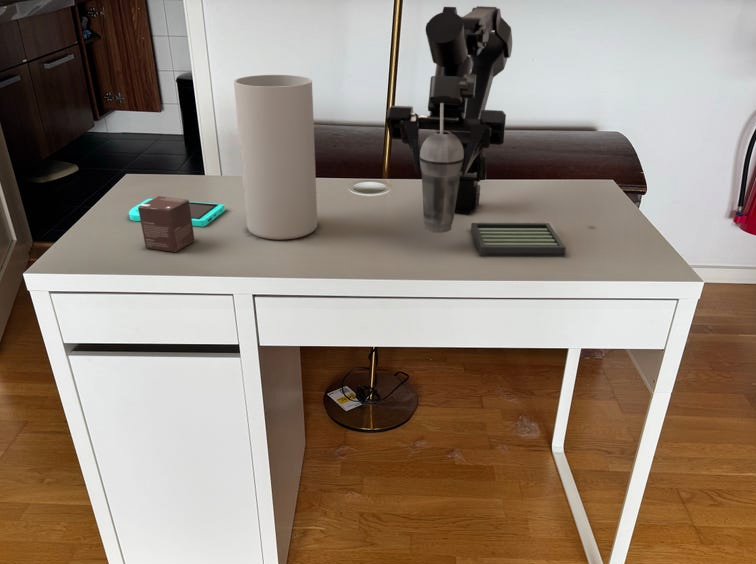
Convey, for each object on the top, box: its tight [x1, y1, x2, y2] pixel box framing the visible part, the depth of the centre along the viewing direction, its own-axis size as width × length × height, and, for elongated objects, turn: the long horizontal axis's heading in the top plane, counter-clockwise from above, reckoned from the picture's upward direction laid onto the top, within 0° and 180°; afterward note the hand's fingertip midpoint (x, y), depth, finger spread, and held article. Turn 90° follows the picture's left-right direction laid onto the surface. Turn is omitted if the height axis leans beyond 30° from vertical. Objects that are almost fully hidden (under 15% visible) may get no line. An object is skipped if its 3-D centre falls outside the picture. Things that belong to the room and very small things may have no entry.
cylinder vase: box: [233, 74, 318, 241], centre depth 117 cm, size 12×12×25 cm
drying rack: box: [470, 222, 567, 257], centre depth 118 cm, size 14×12×2 cm
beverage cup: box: [419, 103, 465, 234], centre depth 109 cm, size 7×7×20 cm
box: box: [138, 195, 196, 253], centre depth 114 cm, size 6×6×7 cm
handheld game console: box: [128, 198, 226, 228], centre depth 129 cm, size 10×16×1 cm, turn 78°
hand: (439, 172), depth 108 cm, fingers closed on beverage cup, 7 cm apart
